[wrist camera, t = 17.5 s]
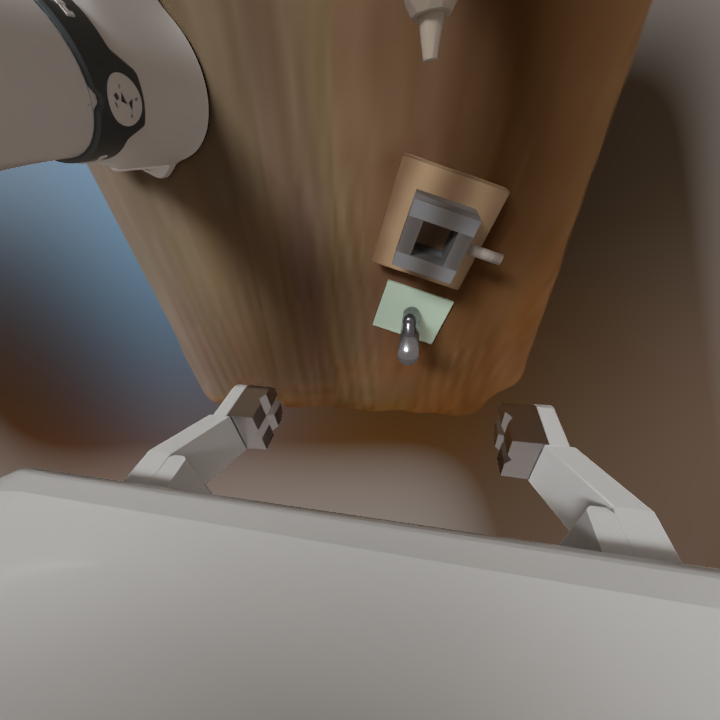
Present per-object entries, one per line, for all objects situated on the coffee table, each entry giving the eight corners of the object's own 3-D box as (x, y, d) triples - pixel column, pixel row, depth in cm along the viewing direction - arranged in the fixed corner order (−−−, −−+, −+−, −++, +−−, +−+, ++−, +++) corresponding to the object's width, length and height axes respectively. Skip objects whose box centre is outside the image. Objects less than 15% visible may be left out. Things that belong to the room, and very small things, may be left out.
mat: (372, 323, 50) (372, 324, 49) (388, 279, 44) (388, 280, 44) (431, 342, 50) (431, 344, 50) (453, 301, 45) (453, 302, 44)
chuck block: (374, 252, 42) (364, 277, 36) (404, 152, 35) (398, 161, 29) (470, 285, 43) (476, 314, 37) (521, 192, 35) (540, 210, 29)
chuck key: (402, 291, 45) (396, 331, 37) (420, 291, 44) (419, 331, 36) (403, 335, 49) (398, 378, 41) (419, 335, 49) (417, 379, 41)
